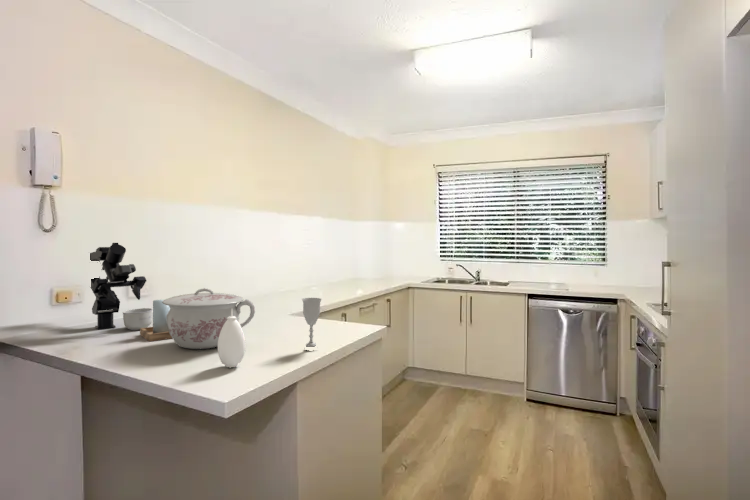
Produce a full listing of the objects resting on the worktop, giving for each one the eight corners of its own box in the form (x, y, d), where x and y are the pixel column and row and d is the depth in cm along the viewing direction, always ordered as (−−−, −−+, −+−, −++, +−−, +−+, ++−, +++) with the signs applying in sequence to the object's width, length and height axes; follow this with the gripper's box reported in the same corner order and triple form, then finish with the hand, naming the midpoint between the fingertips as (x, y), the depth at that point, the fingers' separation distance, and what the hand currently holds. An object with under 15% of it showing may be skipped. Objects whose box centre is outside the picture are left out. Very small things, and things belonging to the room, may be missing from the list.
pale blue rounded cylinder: (149, 334, 161) (149, 301, 161) (157, 331, 167) (158, 299, 167) (165, 335, 161) (165, 301, 161) (172, 331, 167) (172, 299, 167)
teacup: (142, 331, 171) (142, 312, 171) (116, 331, 171) (116, 311, 171) (161, 324, 185) (161, 306, 185) (136, 324, 185) (136, 306, 185)
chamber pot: (144, 348, 146) (144, 289, 146) (208, 333, 171) (208, 282, 170) (199, 360, 133) (199, 295, 133) (260, 342, 158) (260, 287, 157)
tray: (140, 334, 166) (140, 328, 165) (172, 330, 174) (172, 324, 174) (149, 341, 155) (149, 334, 155) (183, 337, 163) (183, 330, 163)
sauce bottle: (237, 361, 132) (237, 305, 132) (249, 367, 127) (250, 308, 126) (213, 366, 127) (213, 307, 126) (225, 372, 121) (225, 311, 121)
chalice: (325, 349, 148) (325, 299, 148) (309, 353, 143) (310, 301, 143) (312, 345, 153) (312, 297, 153) (297, 349, 148) (297, 298, 148)
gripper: (95, 258, 160) (109, 289, 154) (144, 257, 176) (158, 285, 170) (85, 277, 165) (99, 308, 159) (134, 274, 180) (148, 302, 174)
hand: (127, 300), depth 165 cm, fingers open, 9 cm apart
